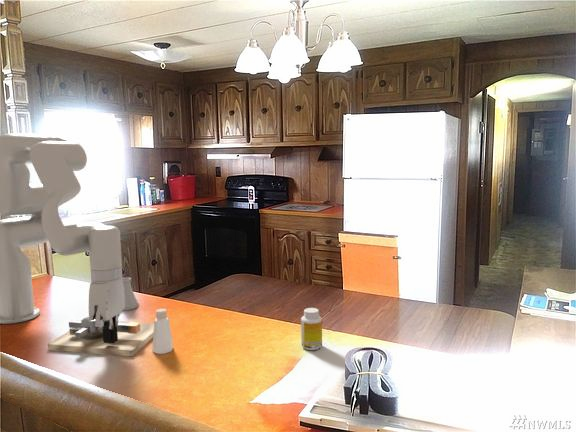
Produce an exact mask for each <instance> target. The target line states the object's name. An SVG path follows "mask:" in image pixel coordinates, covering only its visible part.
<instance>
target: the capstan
mask: <svg viewBox="0 0 576 432" xmlns="http://www.w3.org/2000/svg"><path fill="white" fill-rule="evenodd" d="M95 321H96V319H95V320H90V319H89V316H87V317H84V318H83V319H81V320H72V319H71V320H69V321H68V327H69V329H71V328H82V329H80V330H78V331H77V332H75V336H76V338H78V339H81V338H82V337H83V338H84V339H96V338H100V337H102V336H103V329H101V327H95ZM122 322H123V321H122ZM122 322H118V325H117V326H116V327H117V332H126V333H131V334H137V333H138V332H139V331H140V323H141V322H138V323H122Z"/></svg>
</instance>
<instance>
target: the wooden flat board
mask: <svg viewBox="0 0 576 432" xmlns="http://www.w3.org/2000/svg"><path fill="white" fill-rule="evenodd" d="M118 322H122V323H140V331H139V332H138V333H137V334H131V333H126V332H117V334H118V340H117V341H116V342H115V343H104V342H103V336H102V337H100V338H96V339H84V338H83V337H82V338H81V339H78V338H76V336H75V332H77V331H78V330H80V329H82V328H69V331H67V332H65V333H63V334H62V335H60V336H59V337H57V338H55V339H53V340H52V341H50V342H49V343H47V350H48V351H55V352H56V351H59V352H69V353H70V352H71V353H72V352H73V353H85V354H96V355H97V354H98V355H110V356H122V357H123V356H124V357H133V356H135V355H136V354H137V353H138V352H139V351H140V350H141V349H143V348H144V347H145V346H146V345H147V344H148V343H149V342H151V341H152V340H153V333H154V322H153V323H151V322H150V323H149V322H138V321H137V322H135V321H122V320H121V321H120V320H118Z"/></svg>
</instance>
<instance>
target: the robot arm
mask: <svg viewBox="0 0 576 432" xmlns="http://www.w3.org/2000/svg"><path fill="white" fill-rule="evenodd" d="M87 159H88V158H87V154H86V151H85V149H84V148H83V146H82V145H81V144H80V143H78V142H76V141H74V140H72V139H67V138H65V137H62V136H59V135H54V134H42V133H41V134H36V133H35V134H34V133H15V132H13V133H4V134H0V215H1V216H5V217H8V218H3V219H0V324H1V325H8V324H9V325H10V324H19V323H23V322H26V321H30V320H32V319H35V318H37V317H38V316H39V315H40V314H41V311H40V310H41V309H40V308H38V307H36V306H35V303H34V291H33V289H34V288H33V280H32V278H33V277H32V269H31V261H30V258H29V257H28V256H27V255H26V253H24V252H23V251H22V248H25V247H27V248H28V247H33V246H37V245H42V244H45V243H47V242H48V243H49V244H50V246H51V249H52V250H54V252H55V253H56V254H57V255H60V256H65V257H67V256H73V255H77V254H82V253H86V252H88V254H89V255H88V257H89V271H90V282H89V290H88V317H89V319H90V320H95V319H96V321H95V327H101V329H103V342H104V343H115V342H116V341H117V340H118V334H117V327H116V326H117V325H118V321H119V317H120V315H122V313H123V311H125V310H124V308H125V294H124V286H123V280H122V278H123V263H122V260H123V259H122V245H121V244H122V243H121V231H120V229H119V227H117V226H115V225H106V224H104V223H102V222H99V221H93V222H83V223H78V224H77V223H76V224H70V225H64V223H63V221H62V219H61V216H60V215H59V214H60V213H59V207H60V206H62V205H64V204H66V203H68V202H69V201H71V200H72V199H74V198H75V197H76V196H78V195H79V193H80V192H81V189H82V187H81V184H80V182H79V180H78V178H77V176H76V174H75V172H78V171H79V172H80V171H81V170H83V169H84V168H85V167H86V165H87ZM27 164H32V166H33V168H34V171H35V173H36V175H37V176H38V179H39V181H40V183H30V179H31V173H30V170H29V167H28V166H27ZM26 215H27V216H26ZM28 215H29V216H28ZM18 216H19V217H18Z"/></svg>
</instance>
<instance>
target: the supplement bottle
mask: <svg viewBox="0 0 576 432" xmlns="http://www.w3.org/2000/svg"><path fill="white" fill-rule="evenodd" d="M319 311H320V310H319V309H318V308H316V307H308V308H305V309H304V310H303V316H301V318H300V327H301V328H300V330H301V335H300V336H301V347H302V349H304V350H307V351H317V350H320V349H321V348H322V347H323V317H321V315H320V312H319ZM319 348H320V349H319ZM316 349H317V350H316Z"/></svg>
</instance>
